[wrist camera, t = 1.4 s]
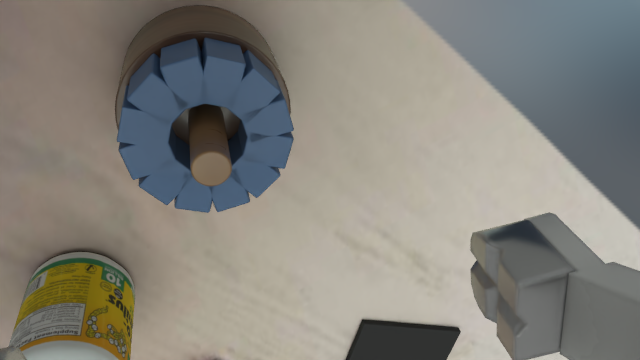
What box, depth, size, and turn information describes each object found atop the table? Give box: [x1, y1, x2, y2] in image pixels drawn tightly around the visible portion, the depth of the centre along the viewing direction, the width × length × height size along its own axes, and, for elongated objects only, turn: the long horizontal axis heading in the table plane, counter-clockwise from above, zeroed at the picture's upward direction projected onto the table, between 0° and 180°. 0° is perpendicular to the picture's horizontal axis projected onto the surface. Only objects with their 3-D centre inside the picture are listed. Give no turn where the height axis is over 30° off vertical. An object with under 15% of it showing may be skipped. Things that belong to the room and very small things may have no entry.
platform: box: [115, 6, 291, 186], centre depth 24 cm, size 7×7×8 cm
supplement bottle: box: [8, 252, 135, 360], centre depth 28 cm, size 5×5×10 cm
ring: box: [117, 38, 294, 213], centre depth 23 cm, size 6×6×2 cm
